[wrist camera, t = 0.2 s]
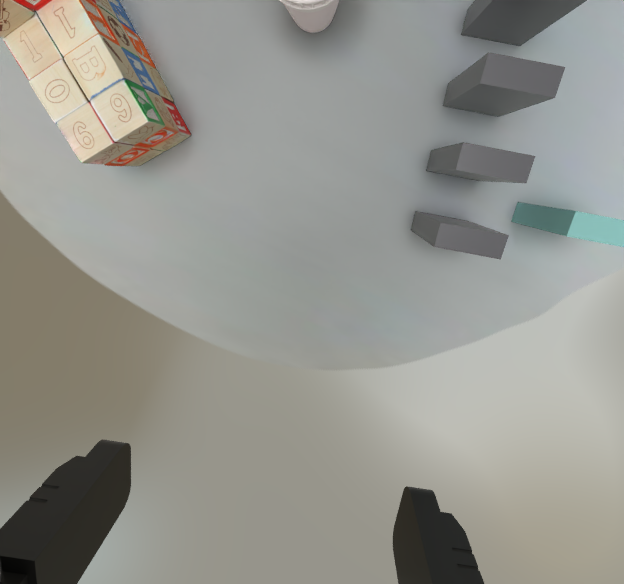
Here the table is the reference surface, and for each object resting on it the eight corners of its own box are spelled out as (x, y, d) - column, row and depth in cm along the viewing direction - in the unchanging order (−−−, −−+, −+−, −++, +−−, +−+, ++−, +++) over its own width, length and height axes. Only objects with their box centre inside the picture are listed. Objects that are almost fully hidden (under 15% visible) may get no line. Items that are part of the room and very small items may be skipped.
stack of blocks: (194, 135, 36) (127, 117, 24) (139, 167, 37) (49, 165, 25) (54, -123, 31) (-118, -307, 19) (-6, -77, 32) (-203, -224, 20)
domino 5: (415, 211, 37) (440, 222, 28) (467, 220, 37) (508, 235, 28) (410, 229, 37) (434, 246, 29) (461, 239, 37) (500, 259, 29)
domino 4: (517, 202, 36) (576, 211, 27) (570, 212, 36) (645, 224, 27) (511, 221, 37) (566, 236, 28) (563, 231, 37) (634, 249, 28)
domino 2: (448, 83, 33) (488, 52, 25) (505, 94, 33) (565, 67, 25) (442, 105, 34) (480, 83, 25) (498, 116, 34) (554, 97, 25)
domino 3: (431, 150, 35) (463, 142, 26) (485, 160, 35) (535, 156, 26) (425, 170, 36) (455, 169, 27) (479, 180, 36) (526, 183, 27)
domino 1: (467, 9, 32) (517, -51, 23) (527, 21, 32) (599, -36, 23) (461, 34, 32) (507, -16, 24) (519, 46, 32) (587, -1, 24)
